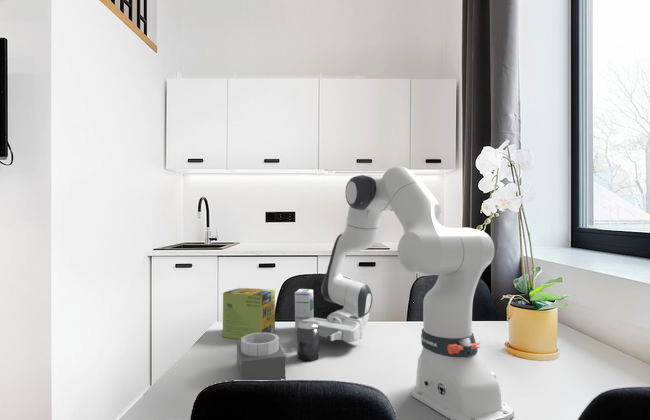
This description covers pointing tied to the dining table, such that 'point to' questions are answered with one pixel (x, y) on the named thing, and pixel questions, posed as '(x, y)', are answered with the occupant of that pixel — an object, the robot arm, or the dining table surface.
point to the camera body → (260, 357)
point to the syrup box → (303, 305)
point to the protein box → (248, 312)
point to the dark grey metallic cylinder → (308, 341)
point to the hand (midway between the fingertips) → (316, 335)
